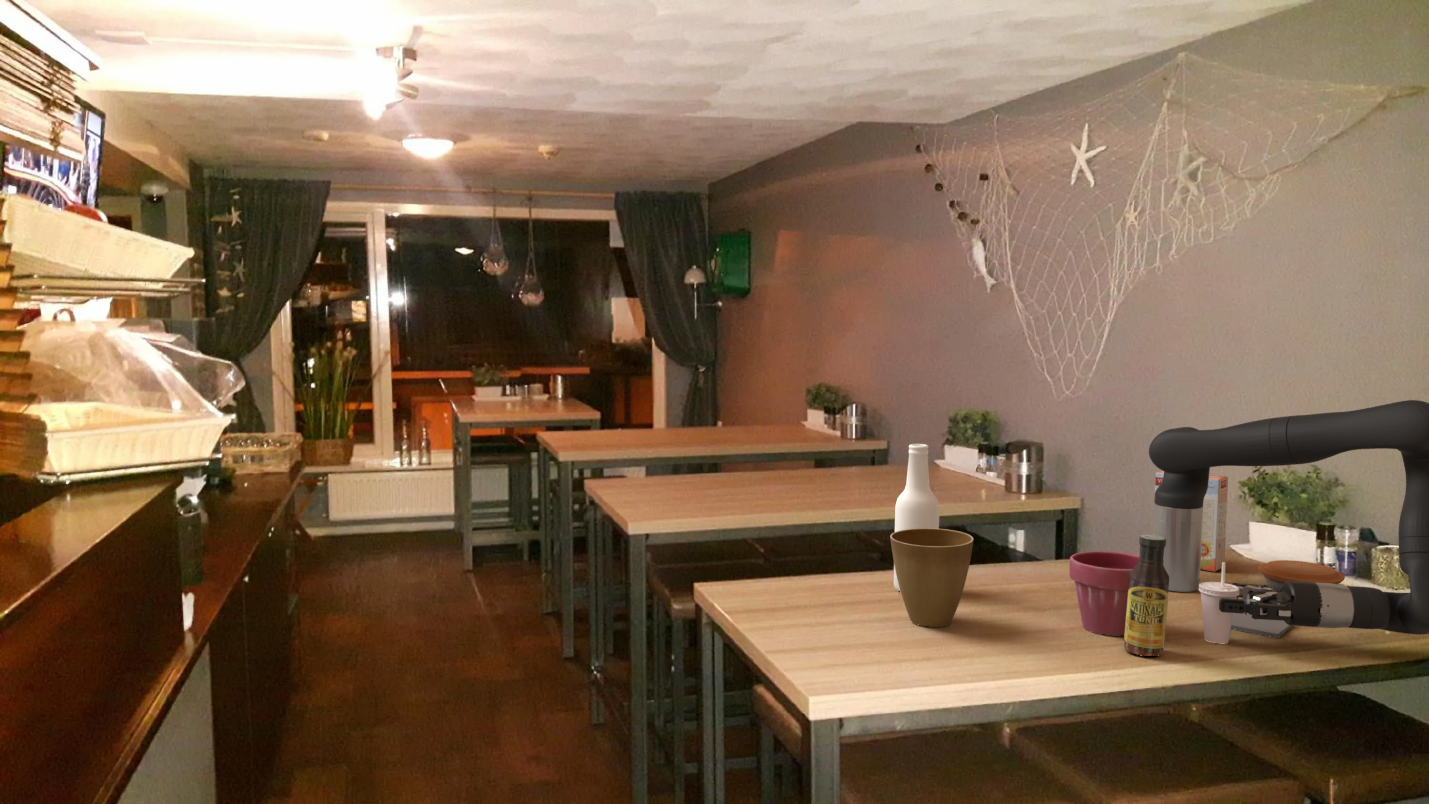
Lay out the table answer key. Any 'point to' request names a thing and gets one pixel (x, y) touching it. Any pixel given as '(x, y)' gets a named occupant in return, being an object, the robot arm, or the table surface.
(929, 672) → the table surface
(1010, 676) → the table surface
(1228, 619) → the smoothie
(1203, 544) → the cracker box
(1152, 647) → the sauce bottle
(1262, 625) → the slate coaster
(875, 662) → the table surface
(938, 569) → the plant pot
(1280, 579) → the pie
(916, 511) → the alcohol
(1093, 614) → the plant pot
